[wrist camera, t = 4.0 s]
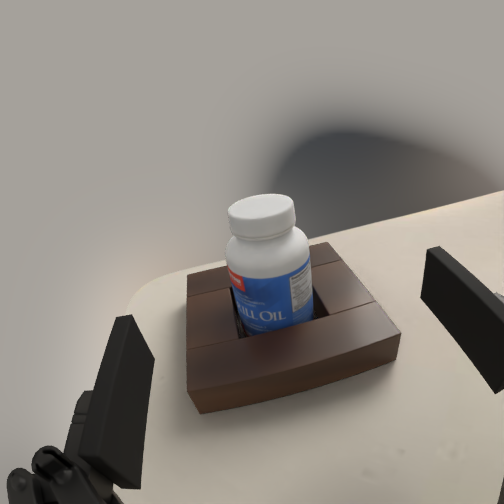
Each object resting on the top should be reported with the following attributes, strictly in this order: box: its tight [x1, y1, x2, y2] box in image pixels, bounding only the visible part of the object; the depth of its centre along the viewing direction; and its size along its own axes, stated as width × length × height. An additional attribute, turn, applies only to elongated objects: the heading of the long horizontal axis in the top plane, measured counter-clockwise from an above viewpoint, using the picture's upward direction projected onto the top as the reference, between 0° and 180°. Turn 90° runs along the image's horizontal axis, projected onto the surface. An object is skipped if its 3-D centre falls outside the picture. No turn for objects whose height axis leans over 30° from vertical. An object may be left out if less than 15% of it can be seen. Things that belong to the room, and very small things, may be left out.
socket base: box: [186, 242, 401, 414], centre depth 23 cm, size 13×13×2 cm
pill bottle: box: [225, 194, 314, 337], centre depth 21 cm, size 6×5×10 cm
